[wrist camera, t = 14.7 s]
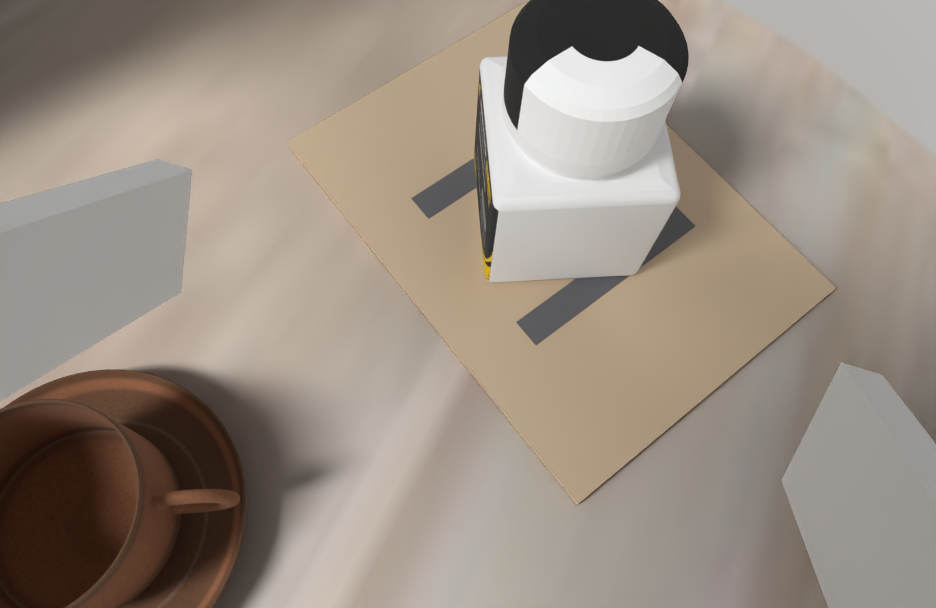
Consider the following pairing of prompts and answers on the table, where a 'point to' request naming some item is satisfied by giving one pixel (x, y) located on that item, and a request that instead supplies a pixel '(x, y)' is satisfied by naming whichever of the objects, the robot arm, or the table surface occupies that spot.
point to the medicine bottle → (577, 139)
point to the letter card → (559, 300)
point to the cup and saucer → (116, 496)
